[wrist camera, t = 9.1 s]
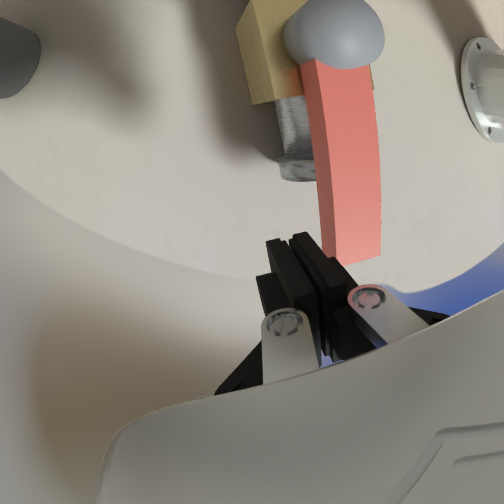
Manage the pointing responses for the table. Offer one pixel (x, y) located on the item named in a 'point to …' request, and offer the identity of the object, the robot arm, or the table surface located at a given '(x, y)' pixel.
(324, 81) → the lever
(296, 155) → the valve body
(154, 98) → the table surface
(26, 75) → the bottle
